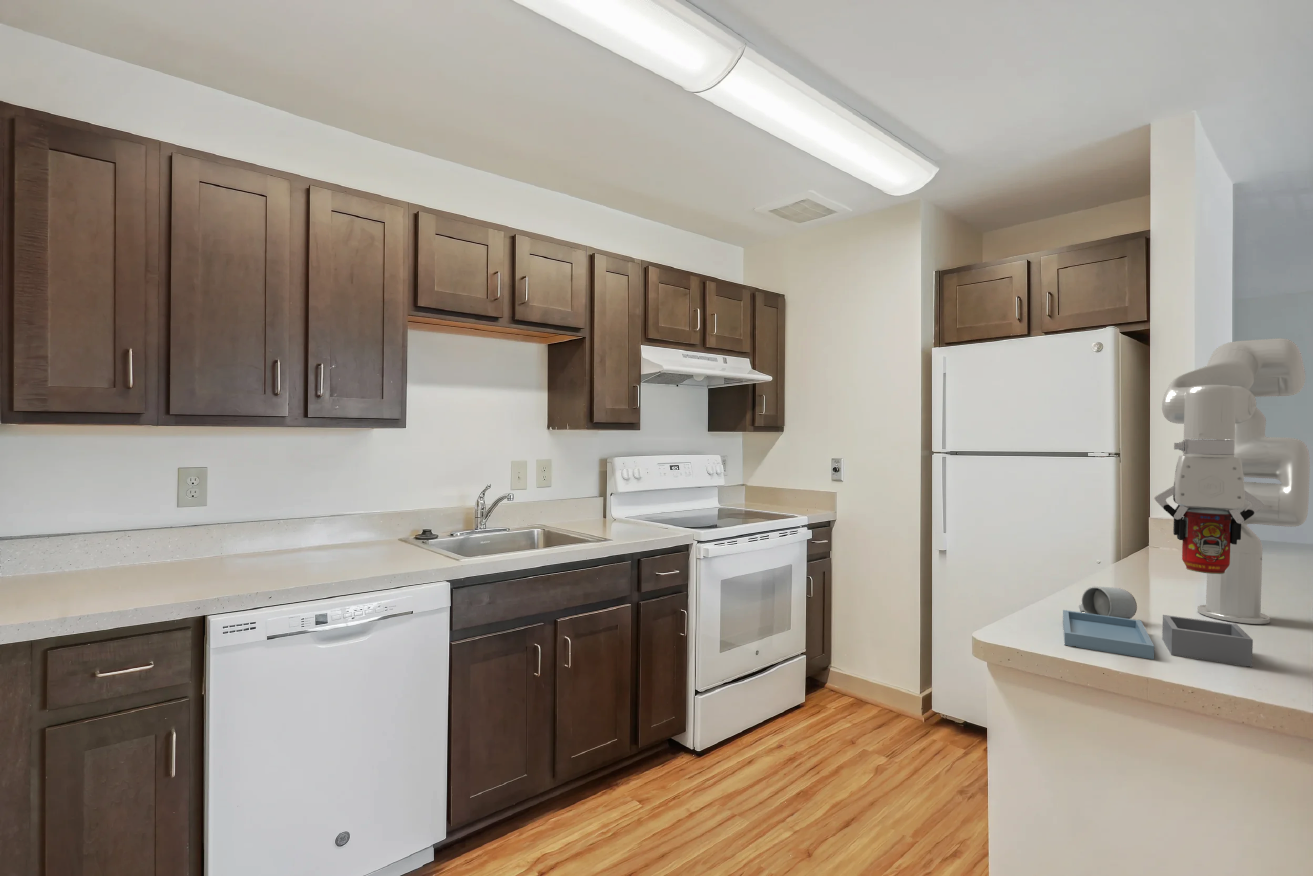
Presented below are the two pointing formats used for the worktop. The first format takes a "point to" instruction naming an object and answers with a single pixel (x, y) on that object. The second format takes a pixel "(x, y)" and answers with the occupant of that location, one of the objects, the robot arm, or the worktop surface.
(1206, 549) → the soda can
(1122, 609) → the ceramic mug
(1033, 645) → the worktop surface
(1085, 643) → the tray
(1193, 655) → the can holder
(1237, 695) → the worktop surface
